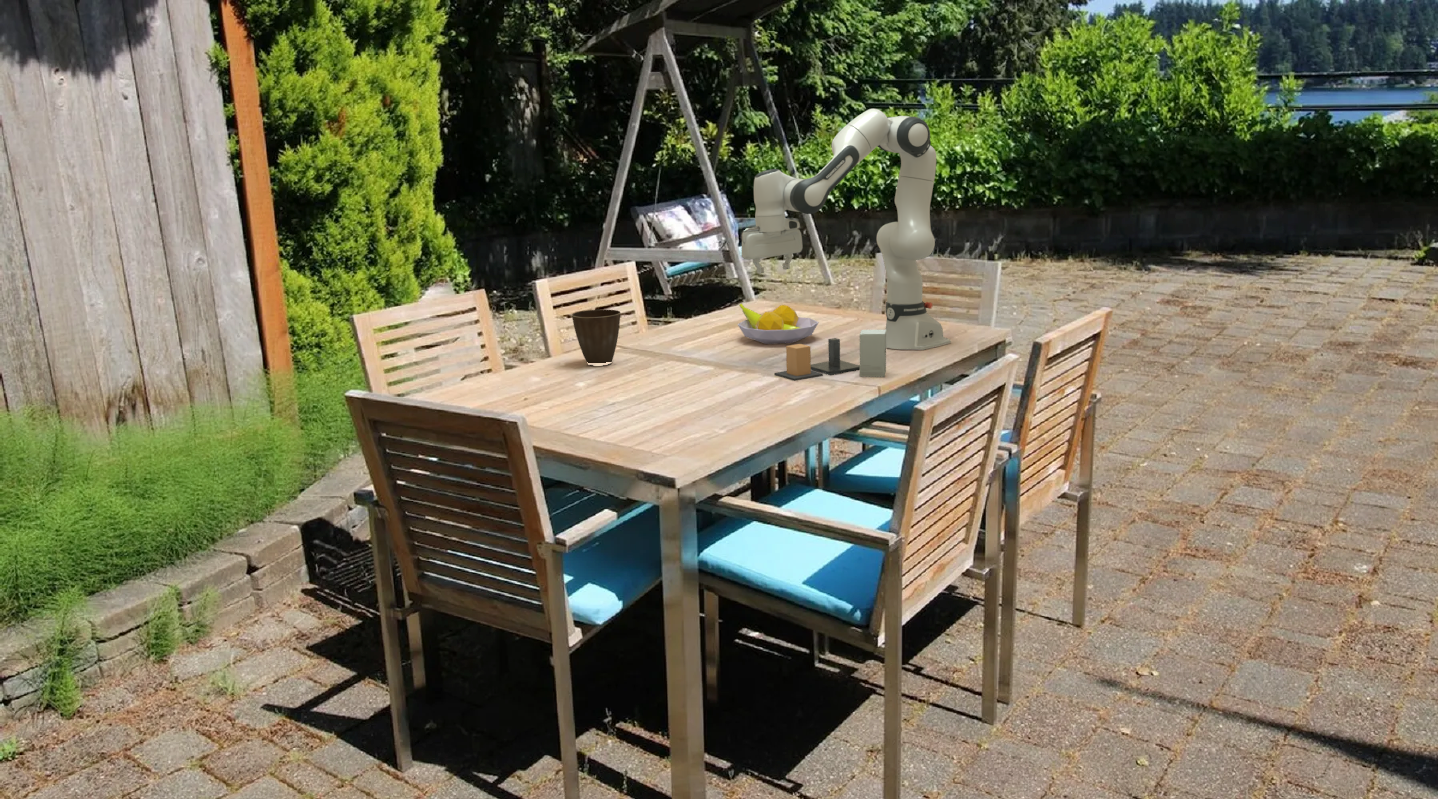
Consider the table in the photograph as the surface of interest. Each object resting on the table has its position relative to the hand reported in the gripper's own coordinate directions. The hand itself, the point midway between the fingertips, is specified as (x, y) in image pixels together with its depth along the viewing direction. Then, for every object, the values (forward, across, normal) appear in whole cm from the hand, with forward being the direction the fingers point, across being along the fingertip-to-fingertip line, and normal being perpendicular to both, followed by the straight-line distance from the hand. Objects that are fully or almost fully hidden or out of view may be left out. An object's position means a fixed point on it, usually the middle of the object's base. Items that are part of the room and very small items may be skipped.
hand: (773, 271), depth 362 cm
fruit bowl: (+28, +19, +30) cm, 45 cm away
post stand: (+28, +6, -20) cm, 35 cm away
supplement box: (+29, +10, -32) cm, 45 cm away
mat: (+28, -7, -20) cm, 35 cm away
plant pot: (+26, -45, +34) cm, 61 cm away
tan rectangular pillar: (+28, -7, -20) cm, 34 cm away
